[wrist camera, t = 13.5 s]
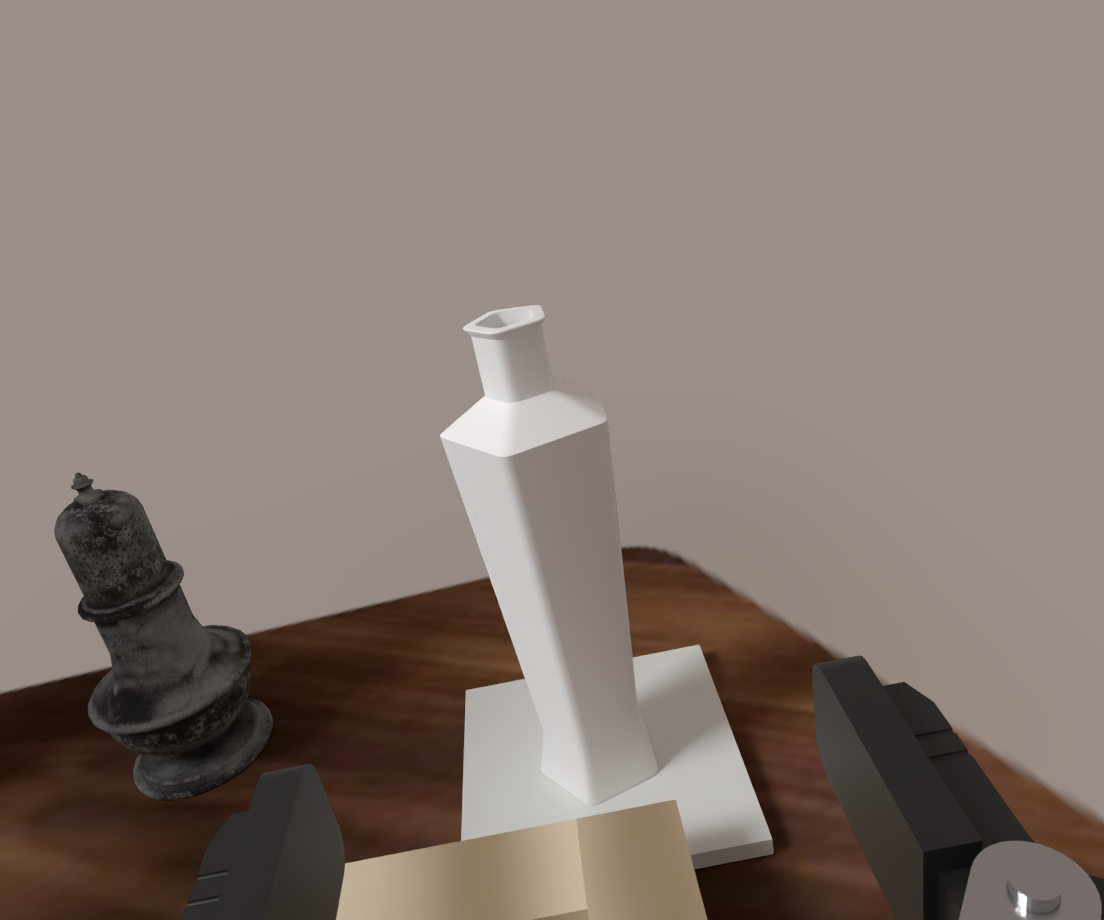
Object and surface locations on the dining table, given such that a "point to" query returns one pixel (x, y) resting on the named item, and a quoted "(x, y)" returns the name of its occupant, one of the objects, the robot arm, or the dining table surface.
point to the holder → (538, 874)
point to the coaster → (683, 775)
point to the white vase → (553, 552)
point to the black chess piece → (158, 653)
